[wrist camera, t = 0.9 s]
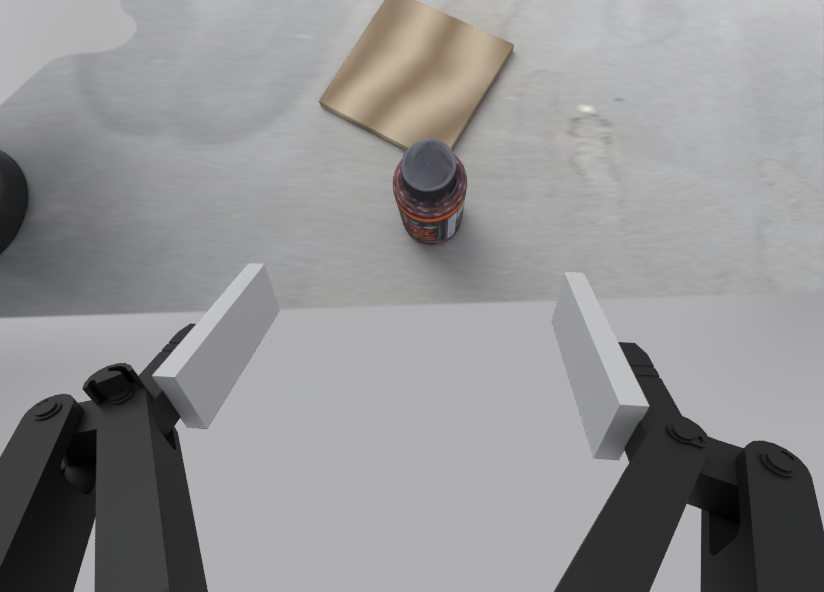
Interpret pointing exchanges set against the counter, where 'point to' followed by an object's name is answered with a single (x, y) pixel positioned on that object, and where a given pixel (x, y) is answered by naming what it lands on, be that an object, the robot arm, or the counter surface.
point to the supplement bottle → (430, 191)
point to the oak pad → (416, 74)
